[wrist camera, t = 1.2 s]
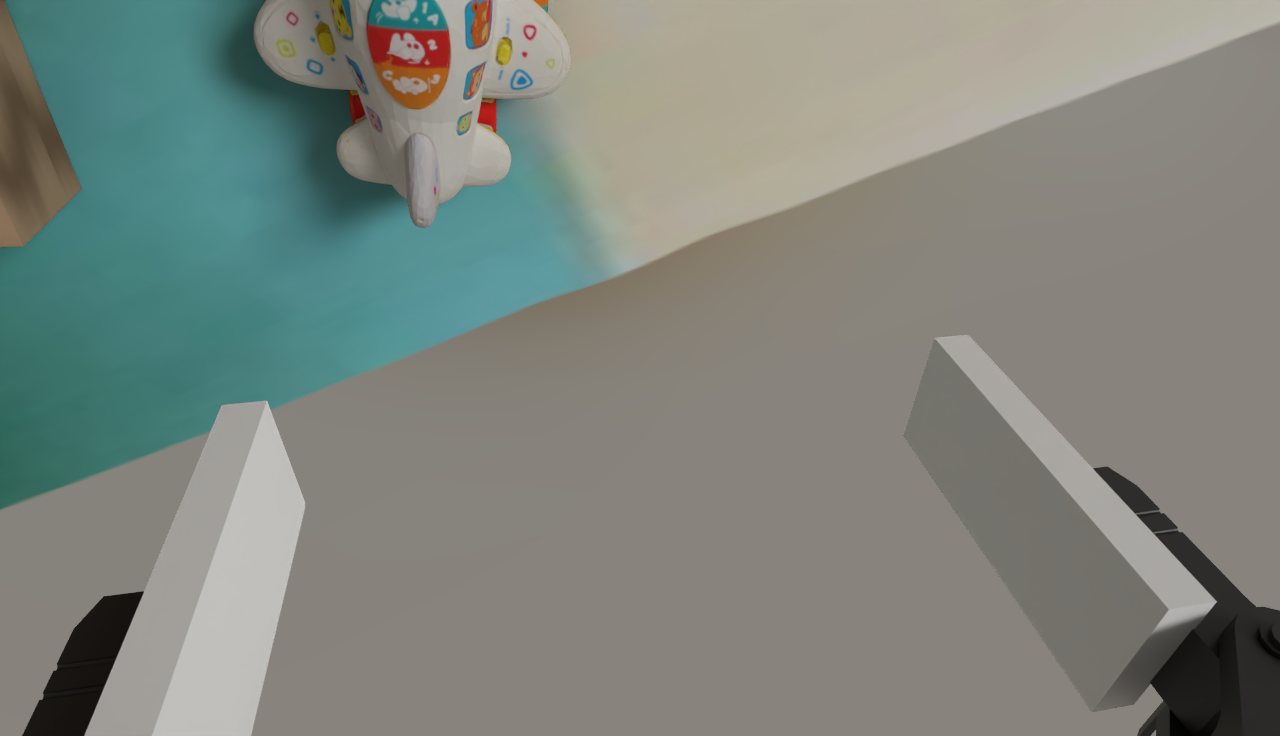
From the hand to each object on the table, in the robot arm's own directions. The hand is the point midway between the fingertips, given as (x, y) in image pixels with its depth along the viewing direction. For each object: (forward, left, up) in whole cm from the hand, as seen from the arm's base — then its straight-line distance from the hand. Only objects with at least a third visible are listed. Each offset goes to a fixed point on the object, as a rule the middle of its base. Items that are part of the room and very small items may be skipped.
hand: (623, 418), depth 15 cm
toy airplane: (-1, -5, -28) cm, 28 cm away
